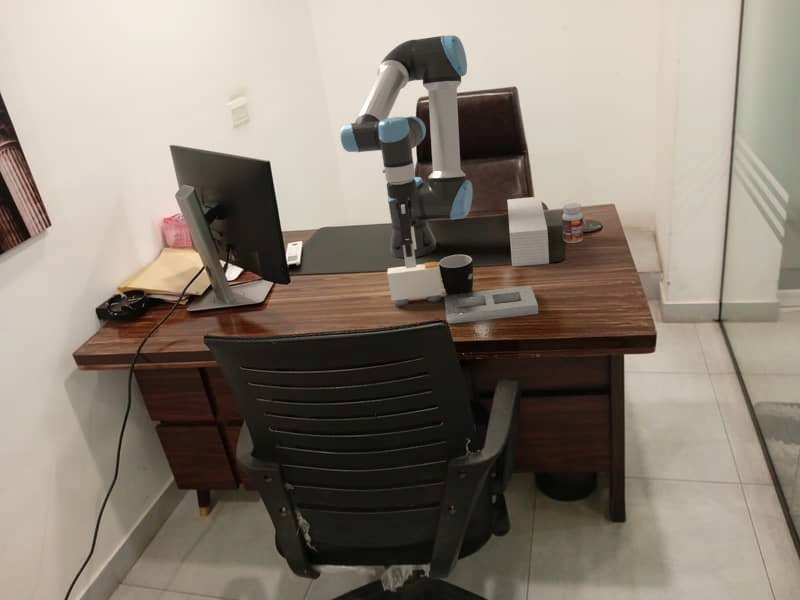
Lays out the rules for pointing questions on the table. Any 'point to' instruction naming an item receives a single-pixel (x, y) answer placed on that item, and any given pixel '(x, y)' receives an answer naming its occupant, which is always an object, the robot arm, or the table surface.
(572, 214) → the pill bottle
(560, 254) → the table surface
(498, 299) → the rail
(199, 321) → the table surface
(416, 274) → the white block
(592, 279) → the table surface
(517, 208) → the stack of papers
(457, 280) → the mug
